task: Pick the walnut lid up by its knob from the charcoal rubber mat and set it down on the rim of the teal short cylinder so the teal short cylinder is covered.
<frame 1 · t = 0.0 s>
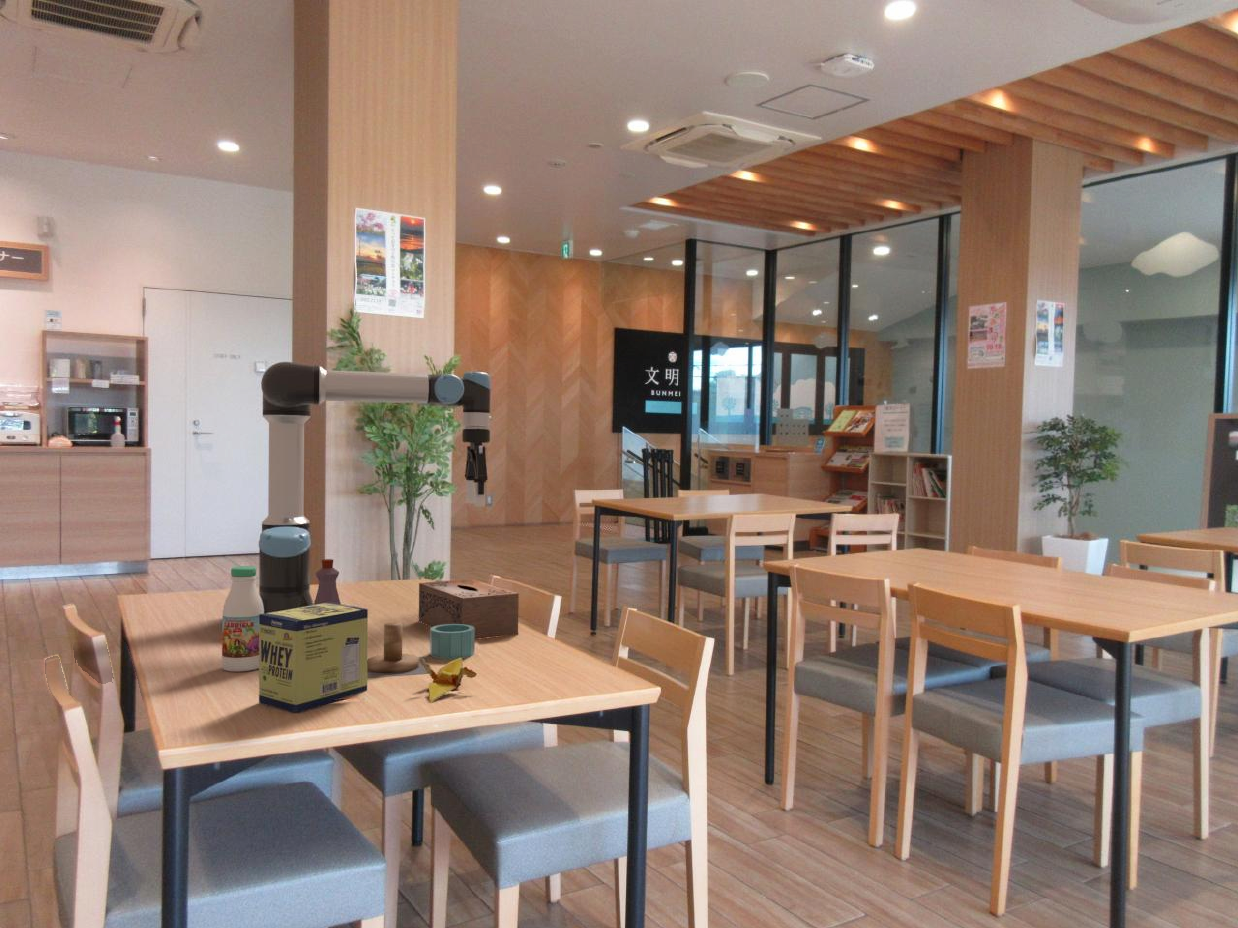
hand: (475, 505, 248), 28 cm above the table, tool pointing down, fingers open, 13 cm apart
origami crane: (446, 690, 164), on the table
mat: (392, 669, 178), on the table
teal short cylinder: (452, 656, 190), on the table
tissue box cover: (466, 629, 220), on the table
protein box: (314, 699, 158), on the table
lid: (392, 666, 178), point 1 cm above the table, touching mat
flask: (326, 654, 191), on the table
milk bottle: (243, 668, 178), on the table
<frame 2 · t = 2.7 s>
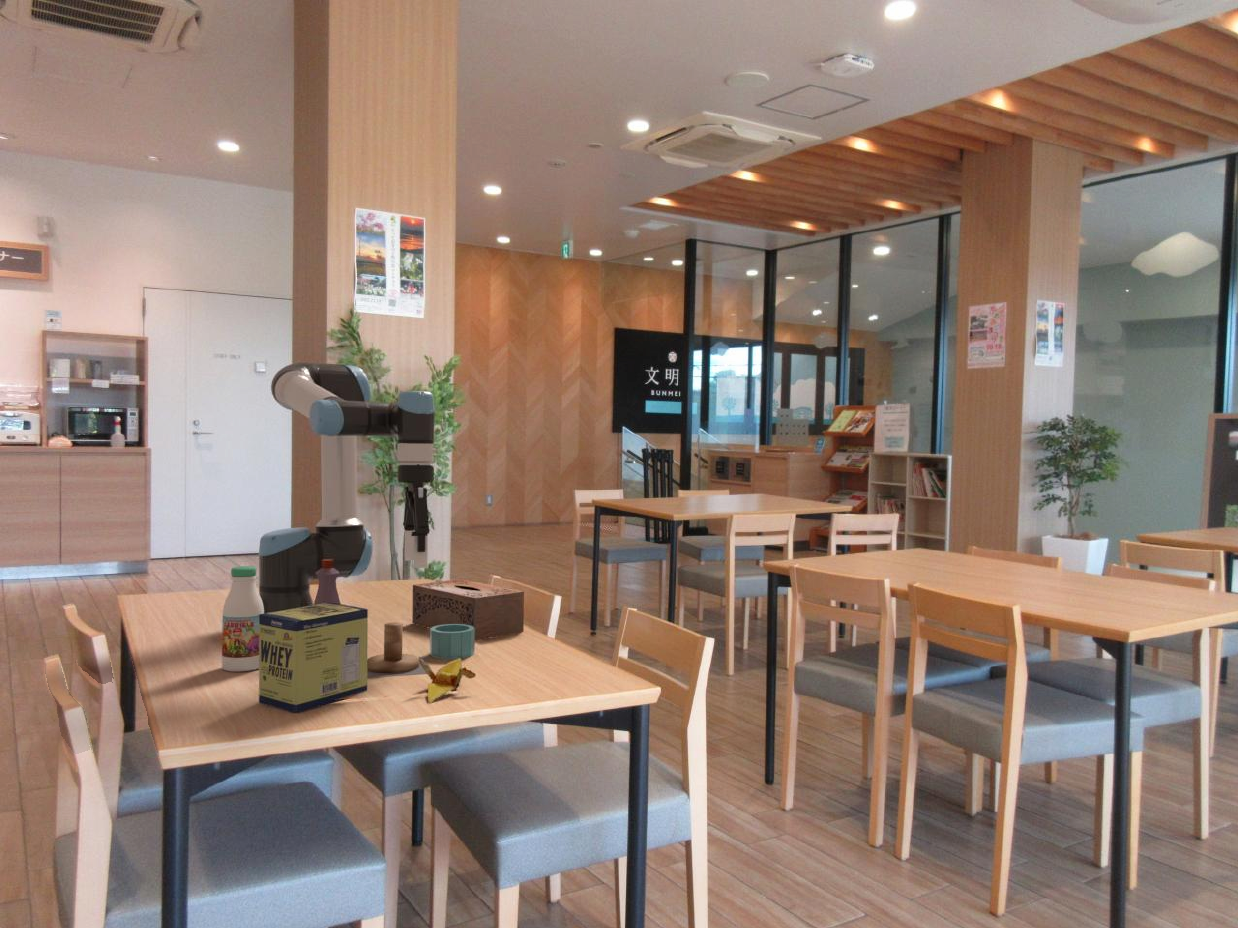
hand: (415, 564, 191), 19 cm above the table, tool pointing down, fingers open, 13 cm apart
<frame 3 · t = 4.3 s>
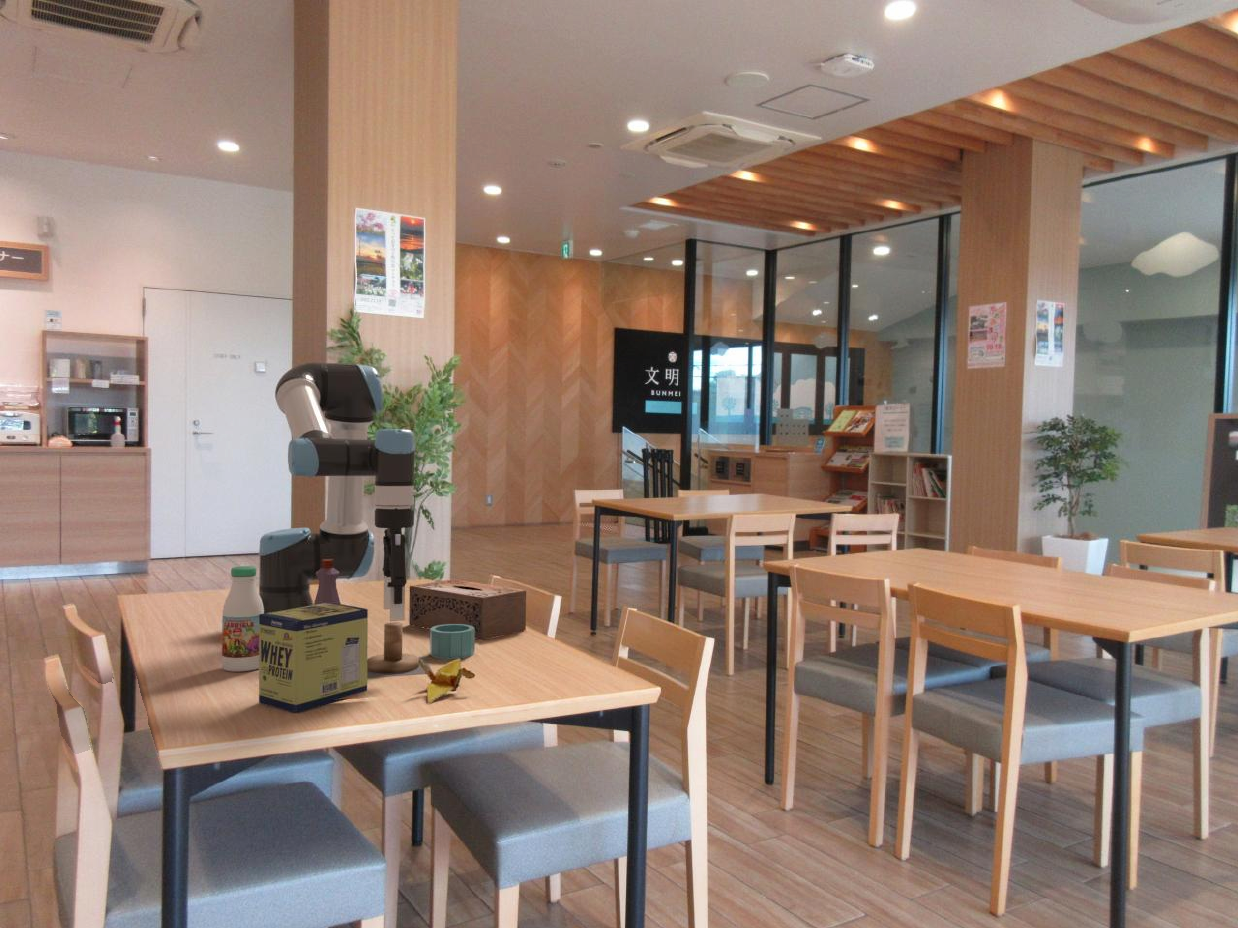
hand: (393, 614, 177), 11 cm above the table, tool pointing down, fingers open, 13 cm apart
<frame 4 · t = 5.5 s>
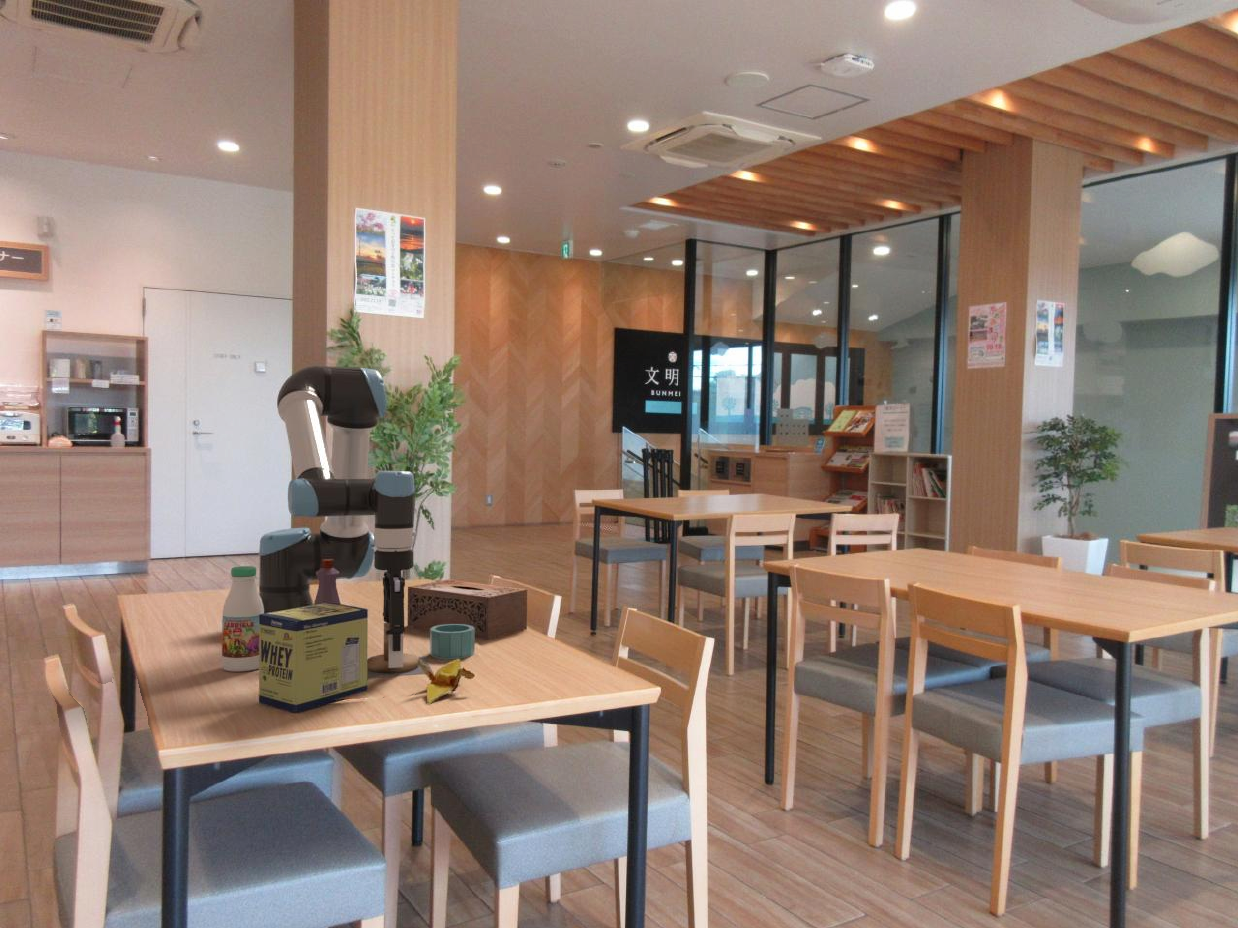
hand: (393, 660, 178), 2 cm above the table, tool pointing down, fingers closed on lid, 10 cm apart
lid: (392, 666, 178), point 1 cm above the table, touching gripper, mat
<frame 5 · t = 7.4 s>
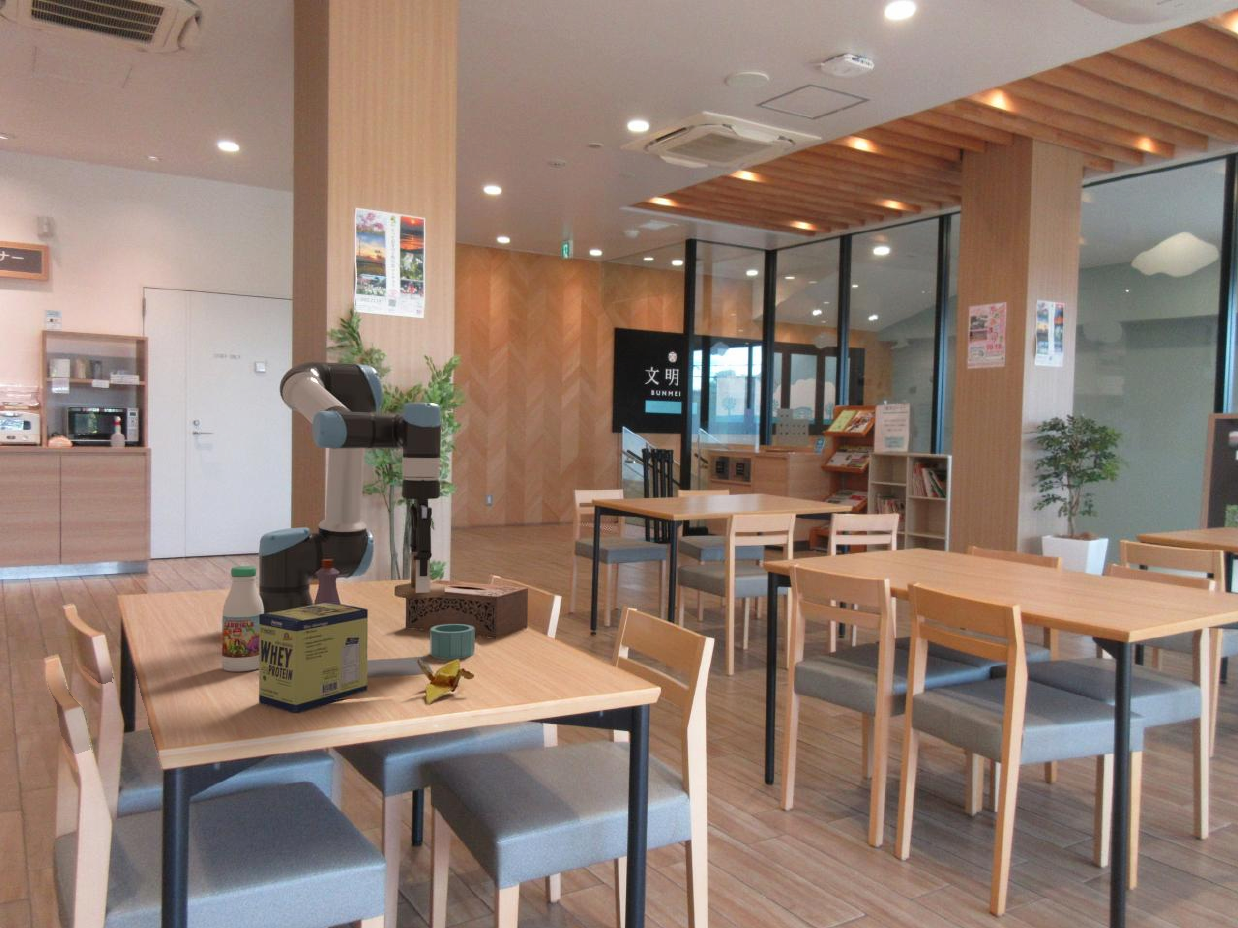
hand: (420, 587, 183), 16 cm above the table, tool pointing down, fingers closed on lid, 10 cm apart
lid: (419, 594, 183), point 14 cm above the table, touching gripper
when the fingers open (9 cm above the table, at t = 9.6 s): lid drops 1 cm, resting on teal short cylinder.
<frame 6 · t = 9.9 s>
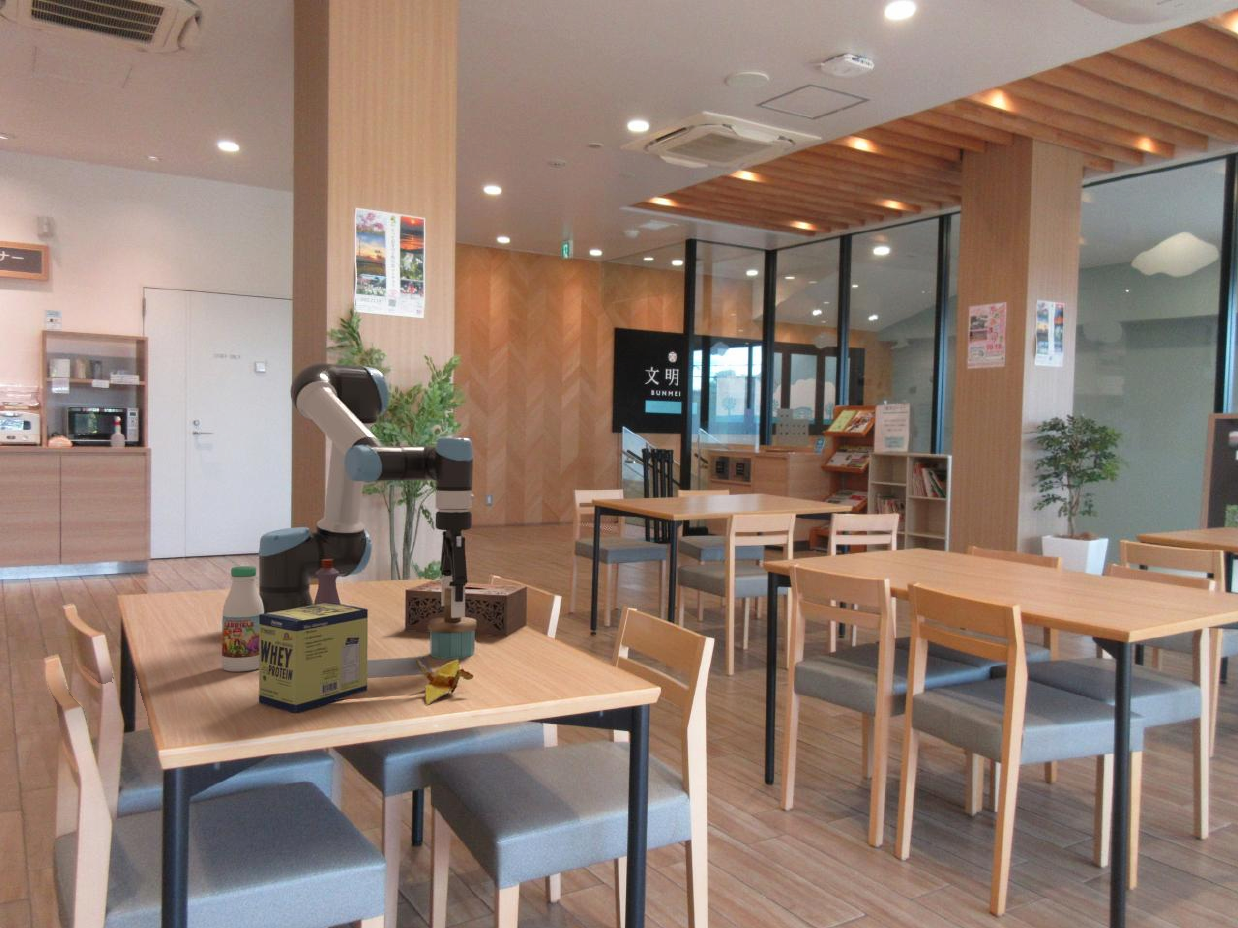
hand: (452, 611, 189), 10 cm above the table, tool pointing down, fingers open, 13 cm apart
lid: (452, 628, 190), point 6 cm above the table, touching teal short cylinder
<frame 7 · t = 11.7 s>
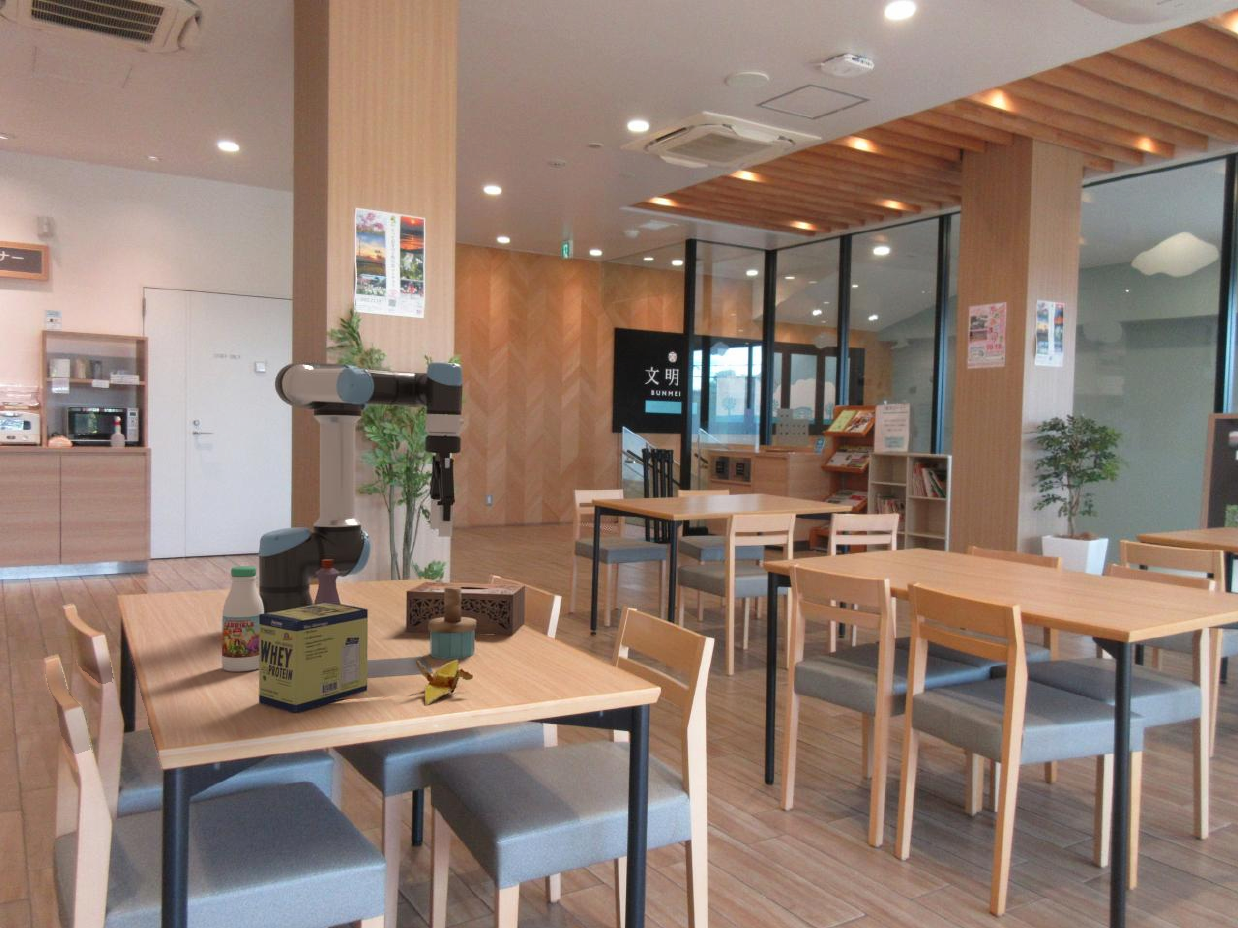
hand: (440, 532, 195), 26 cm above the table, tool pointing down, fingers open, 13 cm apart
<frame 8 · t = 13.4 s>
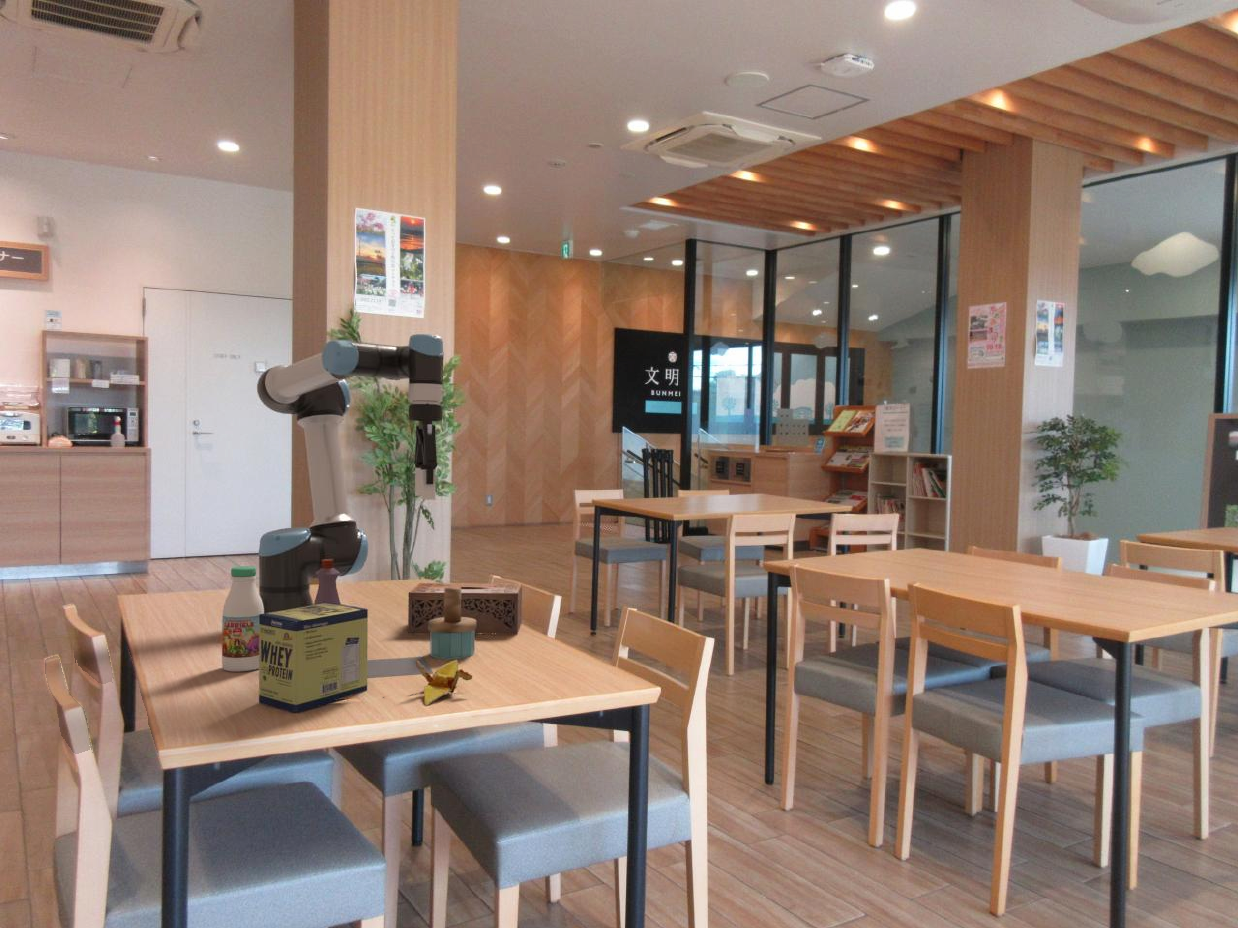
hand: (424, 497, 203), 33 cm above the table, tool pointing down, fingers open, 13 cm apart
at the end: lid 0.0 cm off-centre on the teal short cylinder, point 6.0 cm above the teal short cylinder's base; lid tilted 0°; the gripper is holding nothing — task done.
